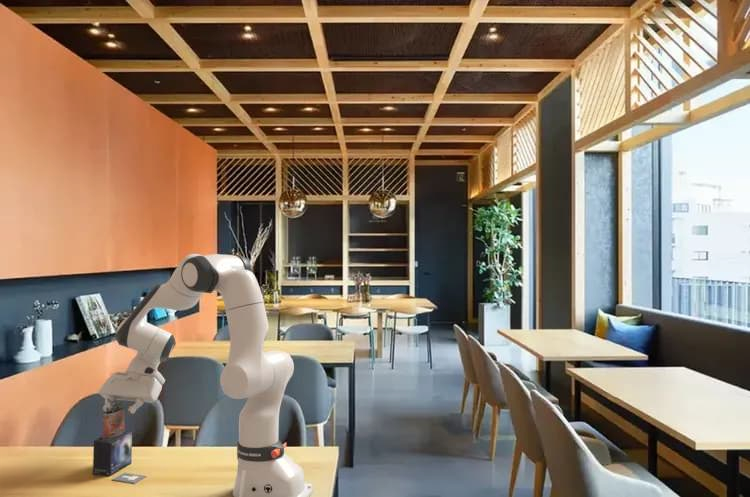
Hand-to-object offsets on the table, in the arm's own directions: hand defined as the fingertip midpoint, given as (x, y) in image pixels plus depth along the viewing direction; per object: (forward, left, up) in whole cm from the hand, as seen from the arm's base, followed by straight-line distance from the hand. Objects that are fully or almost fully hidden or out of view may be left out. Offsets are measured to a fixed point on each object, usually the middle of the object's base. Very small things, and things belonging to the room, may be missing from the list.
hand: (117, 411), depth 170 cm
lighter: (0, +2, -7) cm, 7 cm away
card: (-10, +6, -17) cm, 21 cm away
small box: (0, +2, -18) cm, 18 cm away
